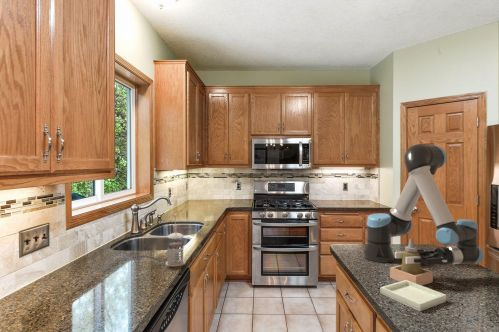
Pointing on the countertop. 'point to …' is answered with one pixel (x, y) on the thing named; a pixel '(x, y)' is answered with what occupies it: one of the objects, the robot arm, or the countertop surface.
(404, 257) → the squeeze bottle
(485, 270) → the countertop surface
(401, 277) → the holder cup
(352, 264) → the countertop surface
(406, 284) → the tray
